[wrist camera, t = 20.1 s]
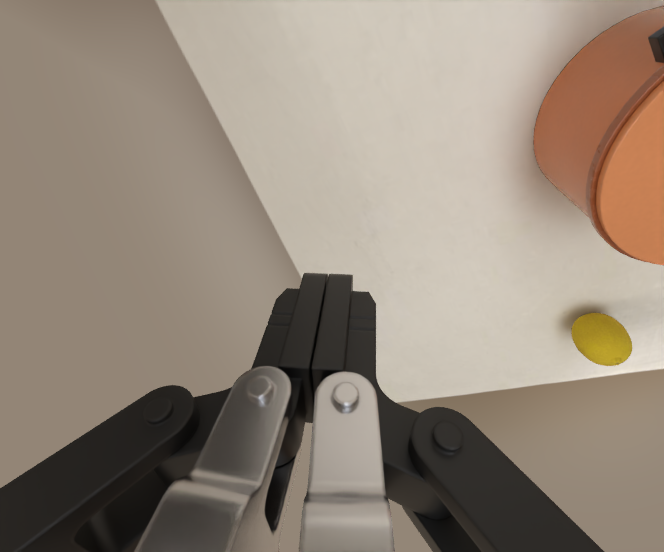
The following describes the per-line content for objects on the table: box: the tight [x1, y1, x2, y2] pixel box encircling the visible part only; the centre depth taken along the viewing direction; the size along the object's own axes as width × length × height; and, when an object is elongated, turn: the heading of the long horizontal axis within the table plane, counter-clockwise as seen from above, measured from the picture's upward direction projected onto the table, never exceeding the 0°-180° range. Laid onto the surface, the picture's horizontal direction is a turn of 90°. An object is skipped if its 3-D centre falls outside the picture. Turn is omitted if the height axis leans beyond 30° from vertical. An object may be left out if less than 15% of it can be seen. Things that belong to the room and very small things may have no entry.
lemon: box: [572, 313, 632, 366], centre depth 42 cm, size 6×6×8 cm
